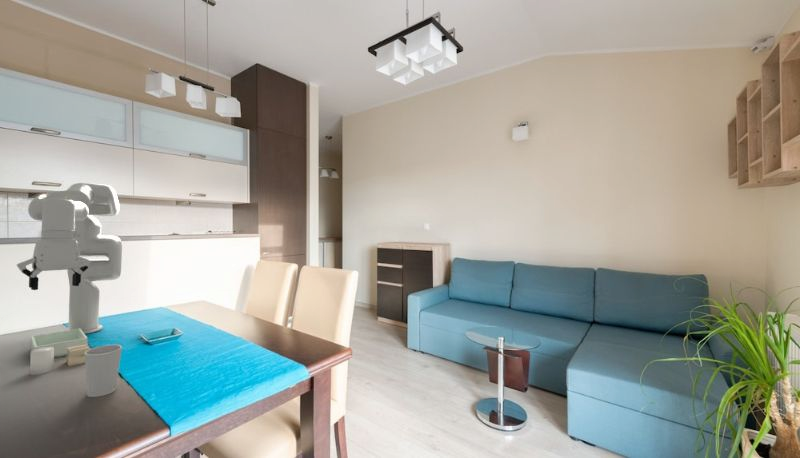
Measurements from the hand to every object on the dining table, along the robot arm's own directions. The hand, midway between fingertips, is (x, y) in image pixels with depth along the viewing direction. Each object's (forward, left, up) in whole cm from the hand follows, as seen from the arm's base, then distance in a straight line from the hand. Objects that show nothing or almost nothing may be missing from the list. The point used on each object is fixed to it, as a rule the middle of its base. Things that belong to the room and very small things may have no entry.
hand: (55, 287), depth 106 cm
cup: (+27, +17, -27) cm, 42 cm away
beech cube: (-3, +5, -27) cm, 27 cm away
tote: (-20, -4, -27) cm, 33 cm away
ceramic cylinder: (+2, -2, -27) cm, 27 cm away
